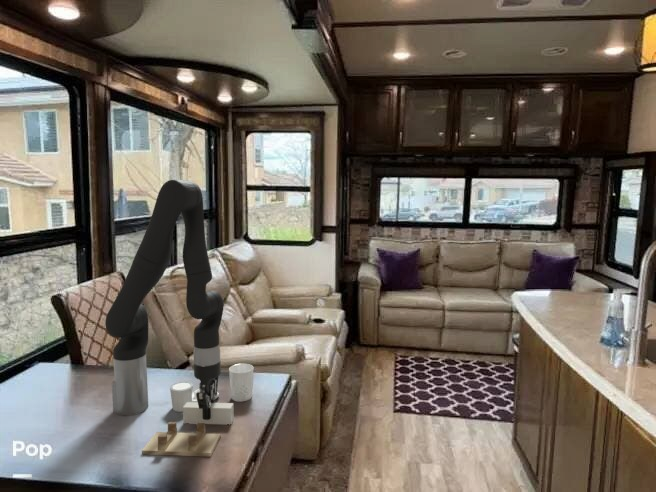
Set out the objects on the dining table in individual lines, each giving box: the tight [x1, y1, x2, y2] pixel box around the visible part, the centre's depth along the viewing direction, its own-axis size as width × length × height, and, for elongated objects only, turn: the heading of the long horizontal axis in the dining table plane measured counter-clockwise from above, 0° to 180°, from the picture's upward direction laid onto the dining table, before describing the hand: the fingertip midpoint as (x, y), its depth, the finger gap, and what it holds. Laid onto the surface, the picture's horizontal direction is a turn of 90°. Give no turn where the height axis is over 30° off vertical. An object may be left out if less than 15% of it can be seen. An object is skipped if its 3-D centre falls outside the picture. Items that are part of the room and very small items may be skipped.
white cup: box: [228, 363, 255, 403], centre depth 149 cm, size 8×8×10 cm
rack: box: [141, 421, 222, 457], centre depth 121 cm, size 18×9×4 cm, turn 87°
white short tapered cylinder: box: [169, 381, 194, 412], centre depth 142 cm, size 7×7×7 cm
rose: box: [192, 388, 220, 402], centre depth 148 cm, size 10×4×10 cm
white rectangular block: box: [182, 402, 235, 426], centre depth 133 cm, size 14×3×5 cm, turn 88°
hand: (208, 415), depth 133 cm, fingers closed on white rectangular block, 3 cm apart
